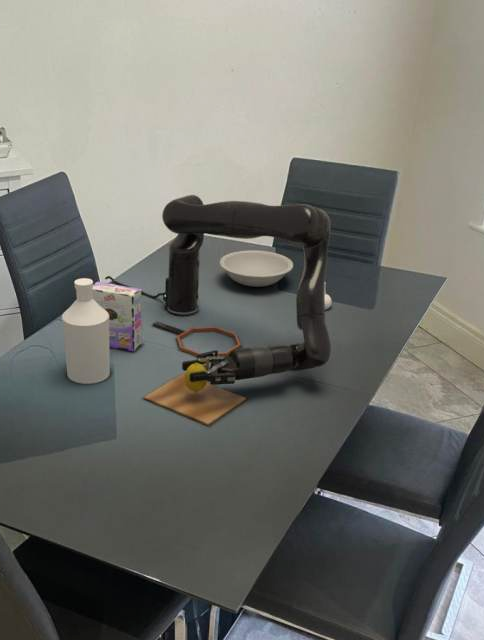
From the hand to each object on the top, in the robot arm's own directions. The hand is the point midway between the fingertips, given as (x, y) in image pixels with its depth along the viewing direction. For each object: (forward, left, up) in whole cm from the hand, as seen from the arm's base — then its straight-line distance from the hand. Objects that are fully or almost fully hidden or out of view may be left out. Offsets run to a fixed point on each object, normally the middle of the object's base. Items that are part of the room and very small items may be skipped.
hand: (186, 371), depth 180 cm
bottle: (-29, -5, -8) cm, 30 cm away
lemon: (+1, +2, -6) cm, 7 cm away
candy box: (-35, +13, -8) cm, 38 cm away
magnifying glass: (-20, +30, -8) cm, 37 cm away
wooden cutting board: (+1, +2, -8) cm, 8 cm away
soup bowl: (-30, +77, -8) cm, 83 cm away
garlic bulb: (-3, +73, -8) cm, 74 cm away
